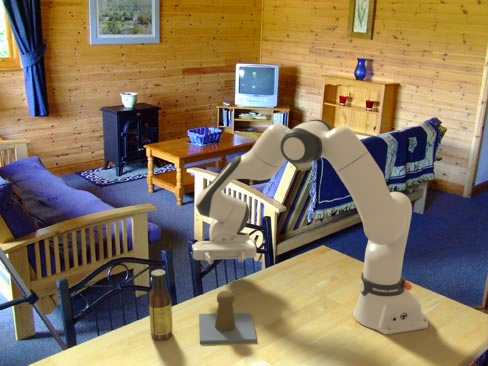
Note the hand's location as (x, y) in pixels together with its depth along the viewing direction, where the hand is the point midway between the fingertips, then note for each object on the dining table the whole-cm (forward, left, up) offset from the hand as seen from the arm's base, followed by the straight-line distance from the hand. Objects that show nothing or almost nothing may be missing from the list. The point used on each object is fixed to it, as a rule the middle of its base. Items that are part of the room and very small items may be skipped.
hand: (226, 260), depth 164 cm
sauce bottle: (+19, +15, -16) cm, 29 cm away
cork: (+1, +13, -15) cm, 20 cm away
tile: (0, +13, -16) cm, 20 cm away
